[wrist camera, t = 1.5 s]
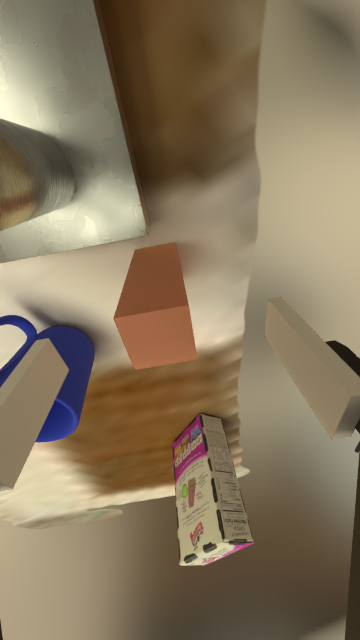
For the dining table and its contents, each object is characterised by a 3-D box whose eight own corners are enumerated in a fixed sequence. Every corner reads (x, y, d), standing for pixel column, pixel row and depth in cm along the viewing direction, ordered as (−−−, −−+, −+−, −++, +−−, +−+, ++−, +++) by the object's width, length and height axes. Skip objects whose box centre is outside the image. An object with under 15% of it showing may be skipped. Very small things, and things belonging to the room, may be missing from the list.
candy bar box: (193, 446, 45) (208, 565, 31) (171, 442, 43) (177, 566, 30) (223, 417, 39) (256, 545, 26) (199, 411, 38) (222, 545, 24)
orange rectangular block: (134, 250, 21) (113, 318, 11) (175, 242, 21) (188, 304, 11) (145, 286, 23) (134, 369, 14) (181, 279, 23) (197, 359, 14)
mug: (38, 277, 22) (-33, 340, 14) (115, 350, 28) (97, 424, 20) (-15, 313, 24) (-107, 388, 16) (68, 375, 30) (34, 451, 22)
